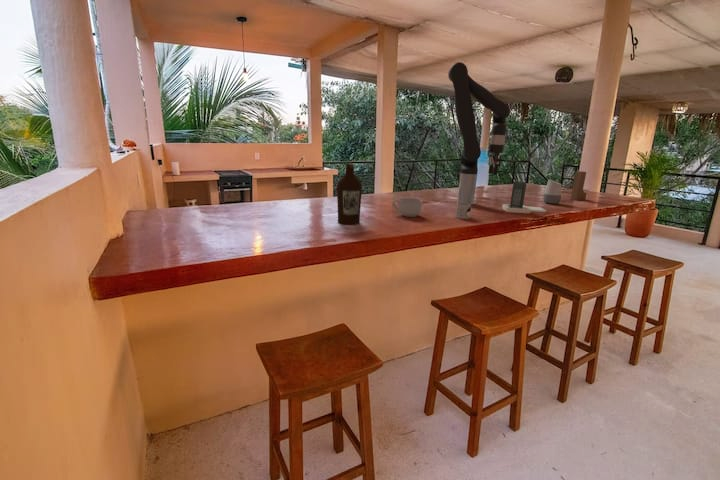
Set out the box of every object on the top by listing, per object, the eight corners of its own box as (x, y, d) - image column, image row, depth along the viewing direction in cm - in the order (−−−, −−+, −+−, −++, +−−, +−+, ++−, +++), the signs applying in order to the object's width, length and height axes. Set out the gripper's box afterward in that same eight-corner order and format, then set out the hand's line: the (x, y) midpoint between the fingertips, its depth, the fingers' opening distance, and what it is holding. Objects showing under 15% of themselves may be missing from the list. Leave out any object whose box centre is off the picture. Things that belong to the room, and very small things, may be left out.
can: (522, 210, 197) (527, 182, 193) (520, 212, 193) (525, 183, 188) (511, 208, 201) (515, 181, 196) (508, 210, 196) (512, 182, 191)
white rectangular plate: (530, 211, 195) (530, 209, 194) (525, 208, 204) (525, 206, 204) (546, 212, 193) (546, 210, 193) (540, 208, 203) (540, 207, 202)
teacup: (422, 214, 180) (423, 198, 177) (418, 219, 170) (419, 202, 168) (395, 211, 184) (395, 196, 182) (389, 216, 174) (390, 199, 172)
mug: (469, 219, 172) (470, 205, 170) (454, 218, 174) (456, 204, 172) (470, 215, 181) (472, 202, 179) (456, 214, 183) (458, 201, 181)
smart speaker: (561, 205, 215) (565, 181, 211) (543, 204, 218) (547, 180, 214) (558, 202, 224) (562, 179, 220) (541, 201, 227) (545, 178, 223)
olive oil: (334, 219, 164) (335, 162, 156) (357, 219, 166) (359, 163, 159) (338, 225, 154) (339, 165, 146) (363, 225, 156) (365, 165, 149)
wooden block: (579, 198, 242) (584, 171, 237) (585, 199, 238) (591, 171, 233) (570, 199, 238) (575, 171, 233) (576, 200, 234) (582, 172, 229)
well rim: (506, 211, 192) (507, 208, 191) (502, 207, 203) (502, 204, 202) (530, 213, 190) (530, 209, 190) (524, 209, 201) (525, 205, 201)
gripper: (486, 143, 207) (482, 172, 211) (493, 143, 194) (489, 174, 198) (500, 144, 207) (495, 173, 211) (508, 144, 193) (503, 175, 197)
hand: (492, 173), depth 204 cm, fingers open, 8 cm apart
